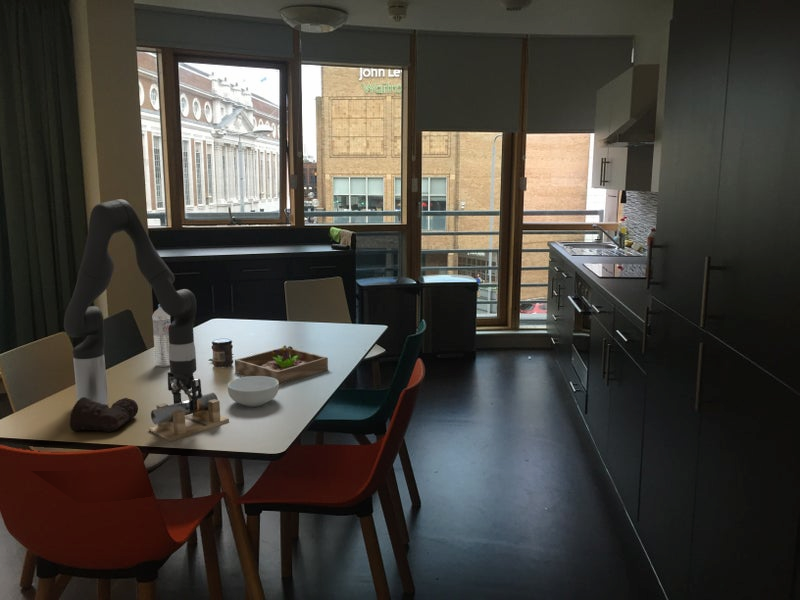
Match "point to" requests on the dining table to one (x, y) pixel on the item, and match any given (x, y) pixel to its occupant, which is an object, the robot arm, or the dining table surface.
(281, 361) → the plant
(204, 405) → the tube
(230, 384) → the cereal bowl
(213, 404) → the cradle board
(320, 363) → the planter box
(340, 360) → the dining table surface
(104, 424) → the dark brown boot
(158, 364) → the water bottle
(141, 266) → the robot arm
